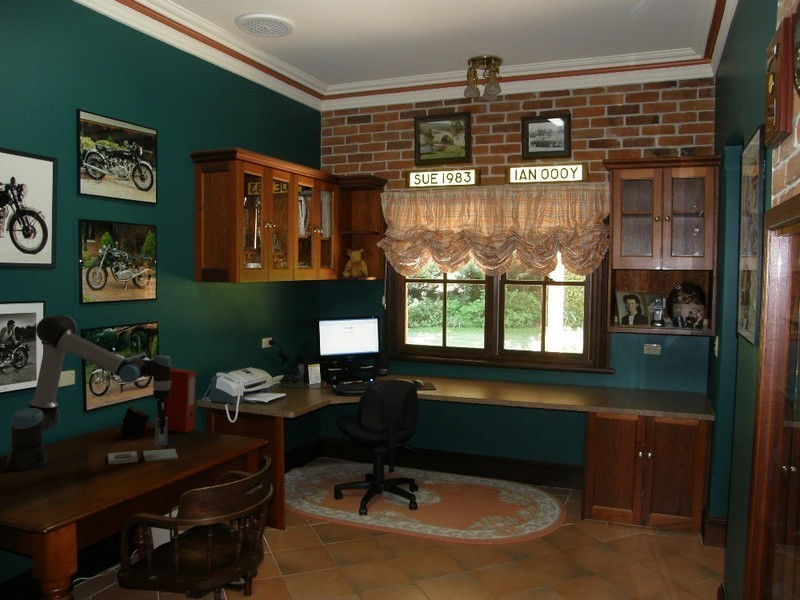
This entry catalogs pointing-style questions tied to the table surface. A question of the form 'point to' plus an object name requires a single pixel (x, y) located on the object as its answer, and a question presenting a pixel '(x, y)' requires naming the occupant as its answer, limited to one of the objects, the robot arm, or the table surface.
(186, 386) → the file binder
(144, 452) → the pad
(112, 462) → the pocket collar
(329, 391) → the table surface
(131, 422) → the black slab
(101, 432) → the table surface
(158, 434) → the slate block
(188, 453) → the table surface
